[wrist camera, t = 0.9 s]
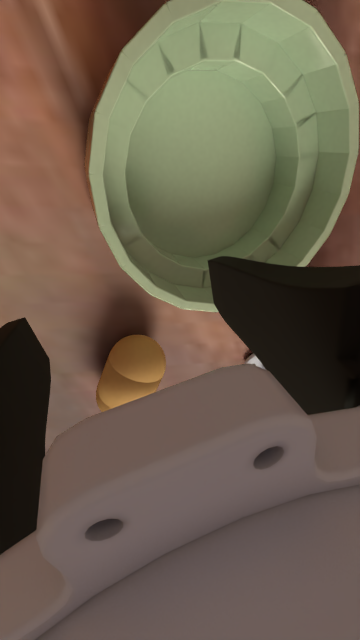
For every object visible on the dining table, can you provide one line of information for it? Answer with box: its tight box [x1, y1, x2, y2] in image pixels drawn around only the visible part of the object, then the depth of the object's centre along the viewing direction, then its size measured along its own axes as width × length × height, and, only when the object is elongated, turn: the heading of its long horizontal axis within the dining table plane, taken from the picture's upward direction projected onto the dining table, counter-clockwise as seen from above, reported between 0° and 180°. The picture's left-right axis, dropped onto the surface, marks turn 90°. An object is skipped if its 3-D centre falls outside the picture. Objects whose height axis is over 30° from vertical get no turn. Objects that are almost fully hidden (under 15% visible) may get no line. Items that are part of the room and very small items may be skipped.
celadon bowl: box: [84, 0, 359, 312], centre depth 17 cm, size 14×14×6 cm
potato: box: [96, 335, 166, 412], centre depth 23 cm, size 7×4×4 cm, turn 156°
